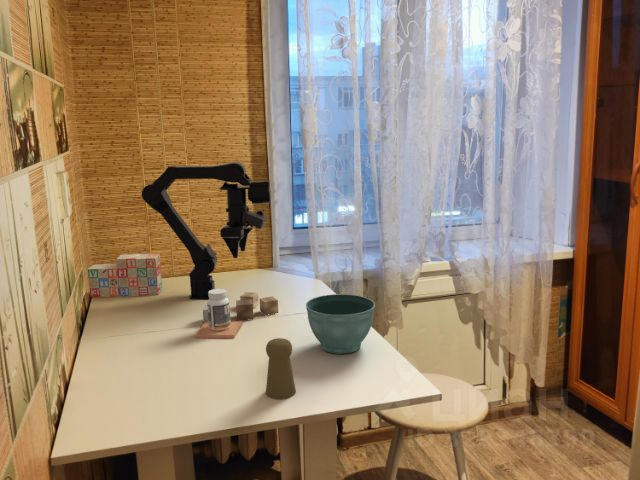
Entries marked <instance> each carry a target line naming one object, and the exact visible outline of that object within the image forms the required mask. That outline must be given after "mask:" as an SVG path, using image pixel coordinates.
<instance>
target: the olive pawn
mask: <svg viewBox="0 0 640 480" xmlns="http://www.w3.org/2000/svg"><path fill="white" fill-rule="evenodd" d="M265 352H266V355H267V357H268V367H267V375H266V386H265V395H266V397H268V398H270V399H272V400H273V399H274V400H286V399H290V398H291V397H293V396H295V394H296V392H297V390H296V383H295V378H294V372H293V366H292V361H291V355H292V353H293V344H292V343H291V342H290V340H288V339H287V338H282V337H278V338H273V339H271V340H269V341H268V342H267V343H266V345H265Z"/></svg>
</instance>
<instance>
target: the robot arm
mask: <svg viewBox="0 0 640 480" xmlns="http://www.w3.org/2000/svg"><path fill="white" fill-rule="evenodd" d="M210 179H211V180H218V181H221V182H224V183H223V184H222V186H220V188H219V190H220V191H226V202H227V205H226V206H227V207H226V208H225V212H226V213H227V221H226V225H225V226H223V227H222V228H221V229H220V230H219V231H220V233H219V235H220V237H221V238H222V240H223V241H224V243H225V244H226V246H227V248H228V250H229V252H230V253H231V255H232V257H233V258H234V259H238V258H239V257H238V256H239V249H240V251H241V252H245V250H246V248H247V247H246V246H247V241H248V237H249V234H250V232H251V231H252V230H253V229H254V228H256V229H259V230H262V229H263V228H264V226H265V224H266V221H267V216H266V215H265V212H264V211H263V210H261V209H259V210H257V212H255V211H253V212H252V211H250V207H249V205H248V206H247V200H248V201H249V202H251V204H252V205H253V204H256V205H258V204H259V205H260V204H261V205H263V204H271V200H272V195H271V188H270V181H269V180H263V181H253V180H252V179H251V177H249V175H248V174H247V173H246V168H245V165H244V164H242V162H240V161H231V162H227V163H222V164H217V165H193V166H192V165H190V166H189V165H183V166H182V165H179V166H178V165H171V166H168V167H166V169H165V170H164V171H163V172H162V174H161V175H160V176H159V177H157V178H156V179H155V180H154V182H152V183H150V184H147V185H145V186H144V187H143V188H142V190H141V198H142V200H143V201H144V202H145V203H146V204H147V205H148V206H149V207H150V208H151V209H153V211H156V212H158V214H160V215H161V216H162V218H163V219H164V220H165V222H166V223H167V224H168V225H169V227H170V228H171V230H172V232H173V233H174V234H175V235H176V236H177V238H178V239H179V240H180V242H181V243H182V244H183V246H184V247H185V248H186V250H187V251H188V253H189V256H190V259H191V260H192V263H193V265H194V267H193V268H192V270H191V271H190V272H189V274H188V276H189V284H190V295H189V299H191V300H197V299H198V300H206V299H207V300H209V299H210V298H209V296H208V292H209V291H210V290H213V289H216V286H215V285H216V284H215V279H213V275H210V274H212V273H213V272H214V270H215V268H216V266H217V264H218V257H217V252H215V250H214V249H213V248H212V246H211V245H210V243H208V244H207V245H204V244H203V243H201V241H200V240H199V239H198V237H196V235H195V233H194V232H193V231H192V230H191V229H190V227H189V226H188V225H187V223H186V222H185V220H184V219H183V217H182V216H181V215H180V214H179V213H178V211H177V210H176V207H174V206H173V203H172V201H171V197H170V195H169V194H168V191H167V190H168V189H169V188H170V187H171V185H172V184H173V183H174V182H175V181H176V180H210ZM240 185H241V186H240Z"/></svg>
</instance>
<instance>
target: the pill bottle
mask: <svg viewBox="0 0 640 480" xmlns="http://www.w3.org/2000/svg"><path fill="white" fill-rule="evenodd" d="M227 295H228V291H227V290H226V289H224V288H215V289H213V290H210V291H209V292H208V296H209V298H210V299H207V302H206V305H207V309H208V324H209V328H210V329H211V330H214V331H222V330H226V329H228V328H230V326H231V310H230V309H231V308H230V307H231V306H230V300H229V298H228V297H227Z"/></svg>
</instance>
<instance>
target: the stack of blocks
mask: <svg viewBox="0 0 640 480" xmlns="http://www.w3.org/2000/svg"><path fill="white" fill-rule="evenodd" d="M160 254H161V253H134V254H133V253H132V254H129V253H128V254H120V255H118V257H116V260H115V261H116V263H103V264H101V263H100V264H96V263H95V264H92V265H91V266H90V267H89V268H87V275H88V276H87V277H88V284H89V285H88V286H89V295H90V297H91V298H98V297H99V298H101V297H102V298H105V297H106V298H109V297H134V296H135V297H136V296H137V297H138V296H142V297H143V296H159V295H160V294H161V292H162V290H163V284H162V283H163V282H162V266H161V263H162V262H161V255H160Z"/></svg>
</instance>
